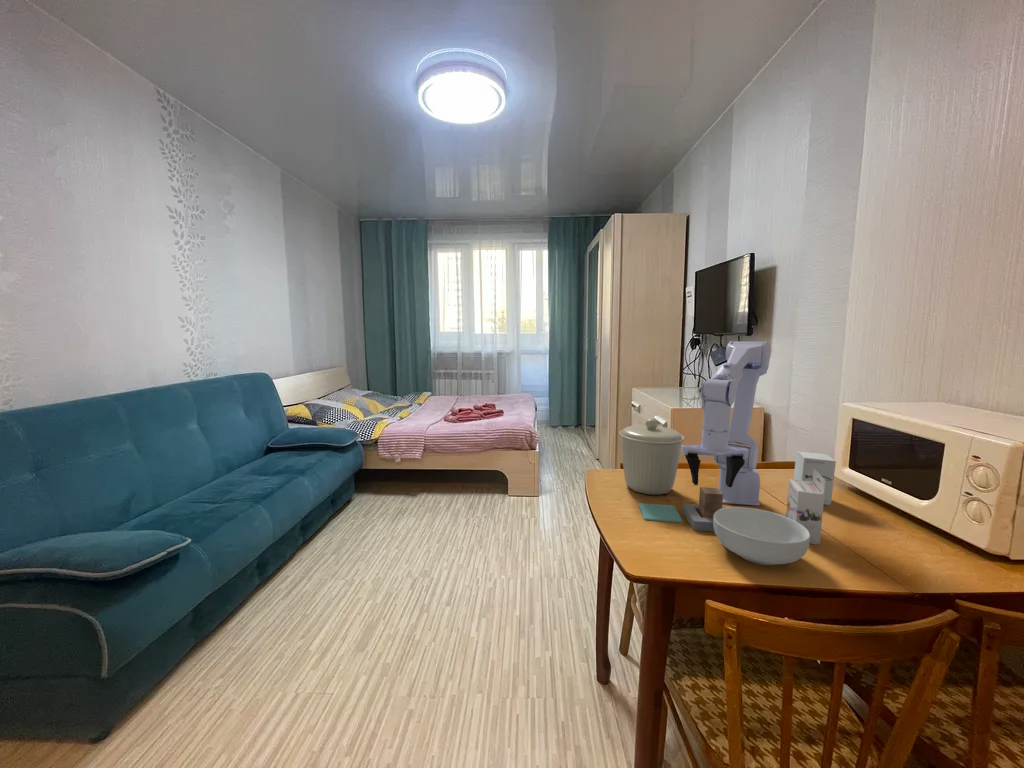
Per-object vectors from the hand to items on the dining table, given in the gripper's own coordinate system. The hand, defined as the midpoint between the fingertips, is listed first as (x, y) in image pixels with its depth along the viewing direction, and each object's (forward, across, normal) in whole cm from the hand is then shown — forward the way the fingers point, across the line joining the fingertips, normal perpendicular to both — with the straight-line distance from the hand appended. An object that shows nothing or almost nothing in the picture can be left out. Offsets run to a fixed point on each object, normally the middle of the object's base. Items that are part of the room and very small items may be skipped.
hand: (711, 484), depth 97 cm
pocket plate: (+9, 0, 0) cm, 9 cm away
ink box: (+10, +19, -3) cm, 22 cm away
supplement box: (+10, +33, +20) cm, 40 cm away
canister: (+10, -11, +20) cm, 25 cm away
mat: (+10, -11, +3) cm, 15 cm away
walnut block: (+10, 0, 0) cm, 10 cm away
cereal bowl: (+10, +5, -14) cm, 18 cm away
